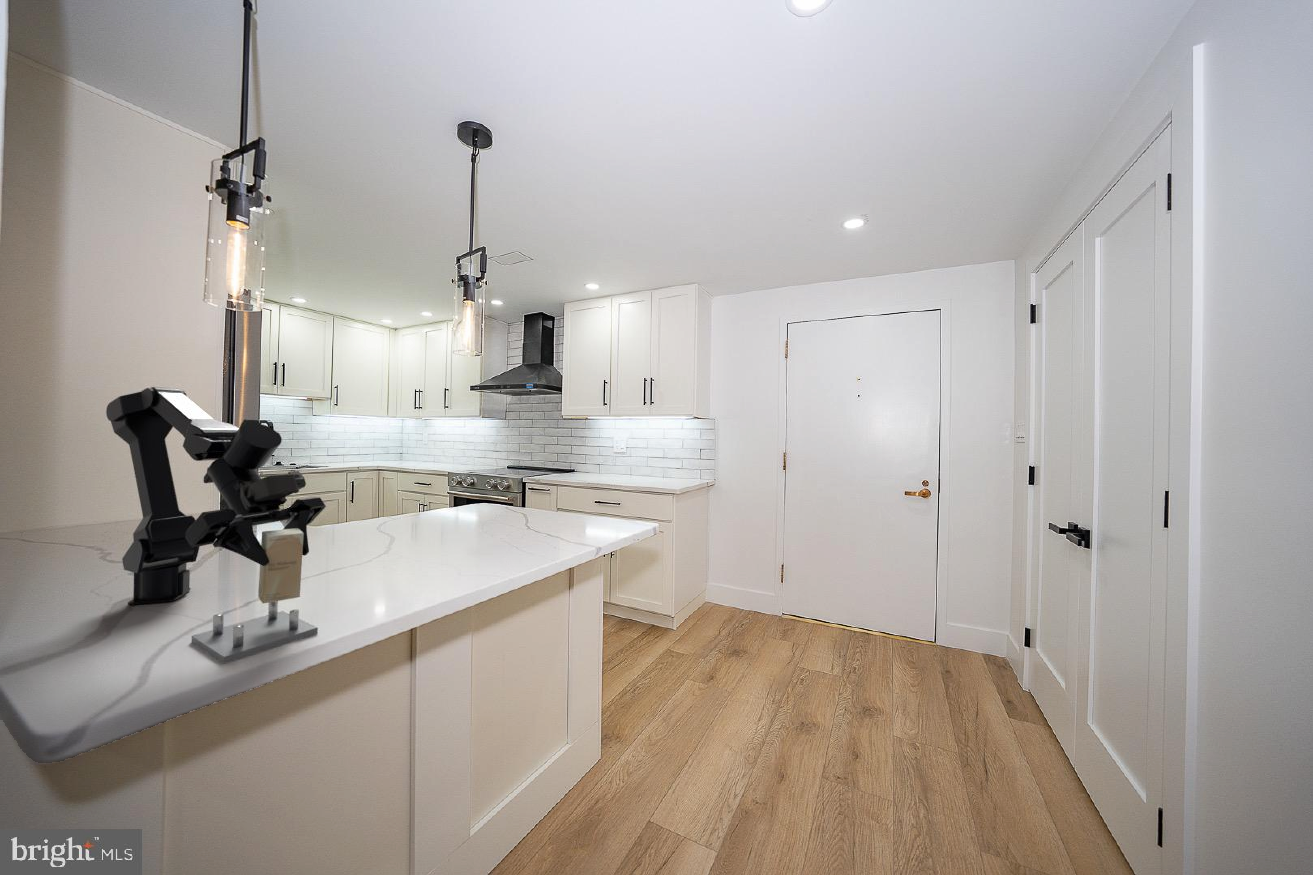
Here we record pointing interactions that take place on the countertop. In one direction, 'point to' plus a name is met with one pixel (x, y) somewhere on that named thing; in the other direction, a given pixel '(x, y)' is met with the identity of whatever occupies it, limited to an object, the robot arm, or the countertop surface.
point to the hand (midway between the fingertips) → (287, 558)
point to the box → (281, 565)
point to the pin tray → (253, 634)
